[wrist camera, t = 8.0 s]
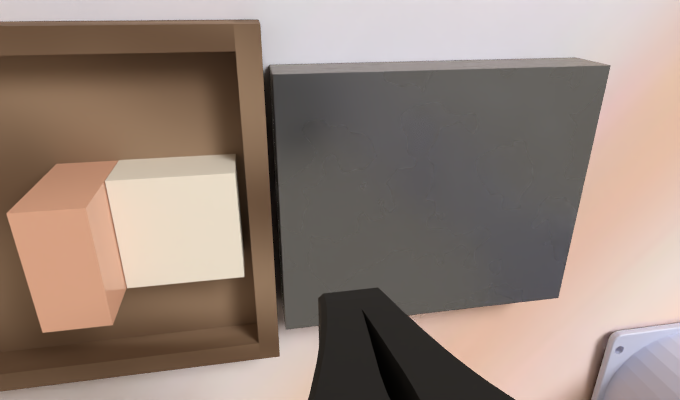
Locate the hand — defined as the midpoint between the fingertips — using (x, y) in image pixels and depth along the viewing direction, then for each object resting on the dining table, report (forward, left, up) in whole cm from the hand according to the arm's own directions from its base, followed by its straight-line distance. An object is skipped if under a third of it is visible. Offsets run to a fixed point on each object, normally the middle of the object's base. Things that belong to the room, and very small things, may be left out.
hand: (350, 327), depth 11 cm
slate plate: (-1, -5, -9) cm, 11 cm away
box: (-1, +8, -9) cm, 13 cm away
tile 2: (-1, +4, -9) cm, 10 cm away
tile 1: (-1, +7, -7) cm, 9 cm away
